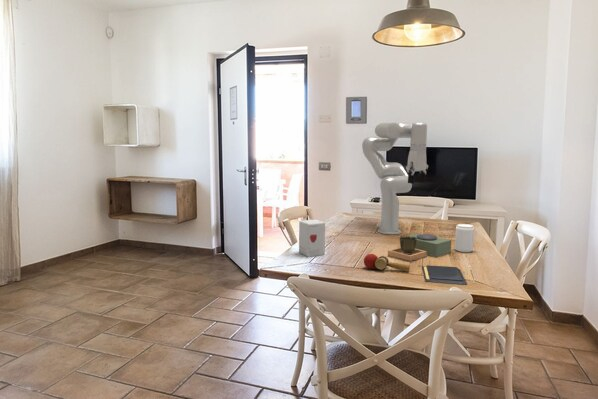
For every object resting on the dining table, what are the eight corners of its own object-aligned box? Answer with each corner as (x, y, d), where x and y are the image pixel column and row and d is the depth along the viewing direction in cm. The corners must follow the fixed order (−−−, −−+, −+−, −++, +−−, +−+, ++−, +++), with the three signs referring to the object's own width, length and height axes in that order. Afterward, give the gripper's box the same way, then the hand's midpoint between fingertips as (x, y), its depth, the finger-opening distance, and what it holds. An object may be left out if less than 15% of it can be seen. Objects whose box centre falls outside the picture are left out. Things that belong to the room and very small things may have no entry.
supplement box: (307, 257, 184) (307, 224, 182) (298, 252, 192) (298, 220, 190) (325, 254, 188) (325, 222, 186) (315, 250, 196) (315, 219, 194)
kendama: (408, 271, 168) (365, 261, 174) (411, 257, 166) (367, 248, 171) (406, 281, 161) (361, 270, 167) (409, 266, 159) (363, 256, 164)
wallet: (467, 282, 148) (423, 278, 152) (467, 287, 148) (423, 283, 152) (461, 265, 167) (421, 263, 171) (460, 270, 168) (421, 267, 171)
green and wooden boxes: (382, 254, 188) (382, 239, 187) (417, 245, 205) (417, 231, 204) (416, 263, 174) (417, 247, 173) (450, 252, 192) (451, 237, 191)
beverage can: (472, 249, 198) (474, 224, 196) (473, 253, 190) (475, 227, 188) (454, 247, 200) (455, 223, 199) (454, 252, 193) (456, 226, 191)
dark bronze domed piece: (416, 257, 181) (417, 239, 180) (399, 256, 183) (399, 238, 181) (415, 253, 188) (416, 235, 187) (398, 252, 190) (399, 235, 189)
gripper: (421, 147, 214) (420, 181, 216) (401, 148, 203) (399, 183, 205) (434, 148, 208) (433, 182, 211) (414, 148, 197) (412, 184, 200)
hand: (416, 182), depth 208 cm, fingers open, 9 cm apart
